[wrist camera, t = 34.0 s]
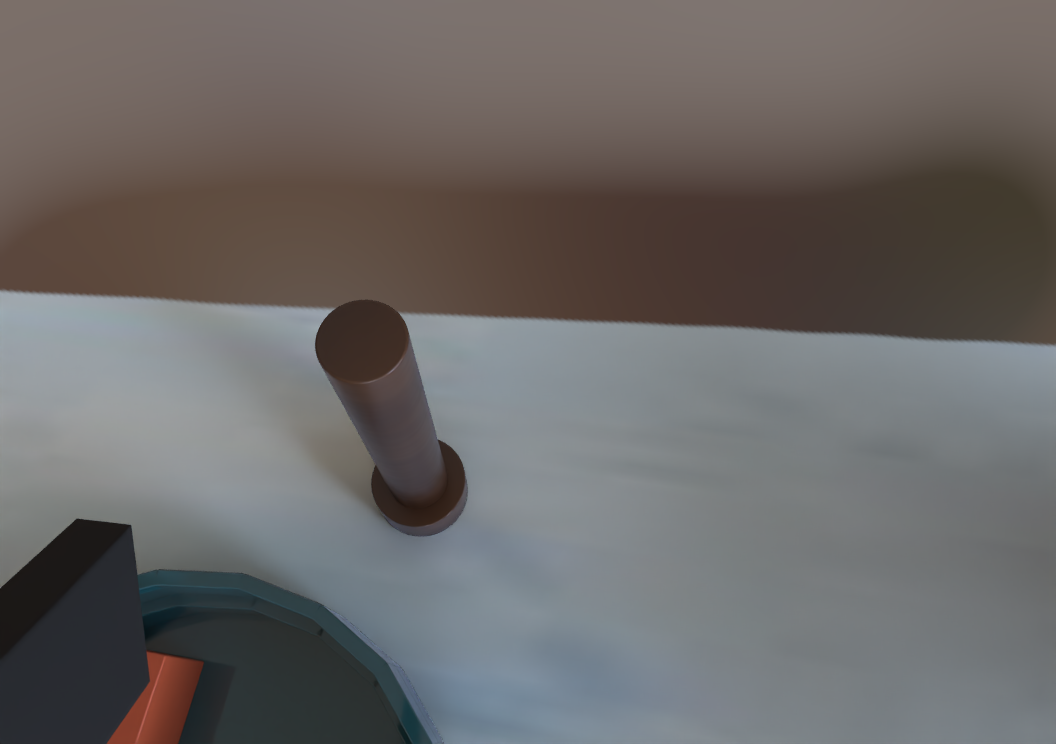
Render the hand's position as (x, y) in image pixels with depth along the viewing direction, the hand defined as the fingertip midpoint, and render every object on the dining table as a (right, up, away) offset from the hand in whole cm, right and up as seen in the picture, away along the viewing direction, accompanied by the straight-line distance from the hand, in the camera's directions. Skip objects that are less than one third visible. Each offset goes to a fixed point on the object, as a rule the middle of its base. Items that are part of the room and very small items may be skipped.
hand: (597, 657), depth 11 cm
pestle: (-6, -1, +25) cm, 26 cm away
